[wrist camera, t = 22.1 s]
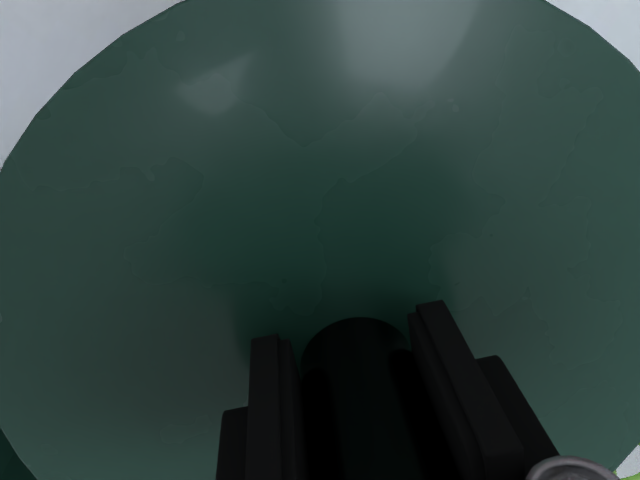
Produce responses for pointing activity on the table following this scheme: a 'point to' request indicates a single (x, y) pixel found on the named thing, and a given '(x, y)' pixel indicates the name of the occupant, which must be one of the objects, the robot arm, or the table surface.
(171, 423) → the pot lid
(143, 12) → the table surface
